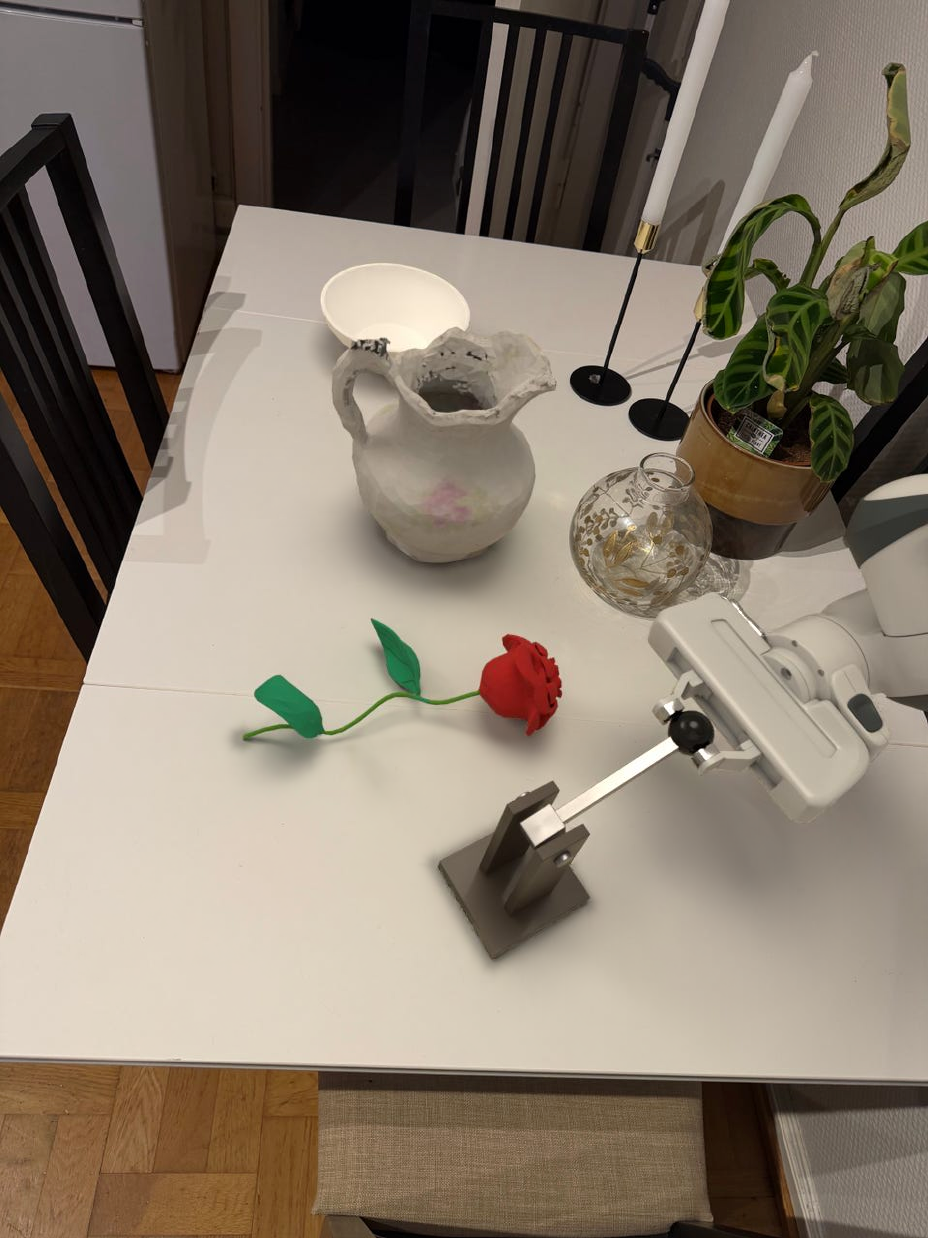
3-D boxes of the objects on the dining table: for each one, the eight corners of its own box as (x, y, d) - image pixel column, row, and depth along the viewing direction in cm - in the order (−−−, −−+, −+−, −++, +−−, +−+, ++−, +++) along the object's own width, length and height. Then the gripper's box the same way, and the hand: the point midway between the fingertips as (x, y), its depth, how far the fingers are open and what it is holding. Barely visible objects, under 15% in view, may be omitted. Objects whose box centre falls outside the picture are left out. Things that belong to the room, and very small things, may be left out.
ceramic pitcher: (351, 608, 93) (373, 445, 72) (310, 470, 102) (319, 291, 81) (535, 577, 100) (604, 419, 79) (481, 450, 109) (530, 280, 88)
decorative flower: (249, 636, 87) (244, 574, 80) (535, 638, 93) (556, 580, 85) (241, 761, 79) (235, 705, 71) (556, 756, 84) (582, 703, 77)
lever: (692, 711, 72) (697, 695, 68) (720, 746, 70) (727, 731, 67) (516, 825, 69) (513, 813, 66) (541, 864, 67) (539, 853, 64)
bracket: (530, 816, 80) (567, 744, 69) (586, 902, 76) (635, 840, 65) (437, 866, 76) (461, 798, 65) (492, 959, 72) (527, 903, 61)
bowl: (358, 410, 110) (361, 365, 105) (295, 320, 119) (295, 275, 114) (488, 378, 118) (497, 335, 113) (420, 296, 127) (426, 253, 122)
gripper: (736, 565, 76) (612, 617, 70) (908, 754, 67) (781, 832, 61) (709, 608, 81) (591, 660, 75) (865, 790, 72) (745, 865, 66)
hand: (677, 739), depth 68 cm, fingers closed on lever, 3 cm apart
